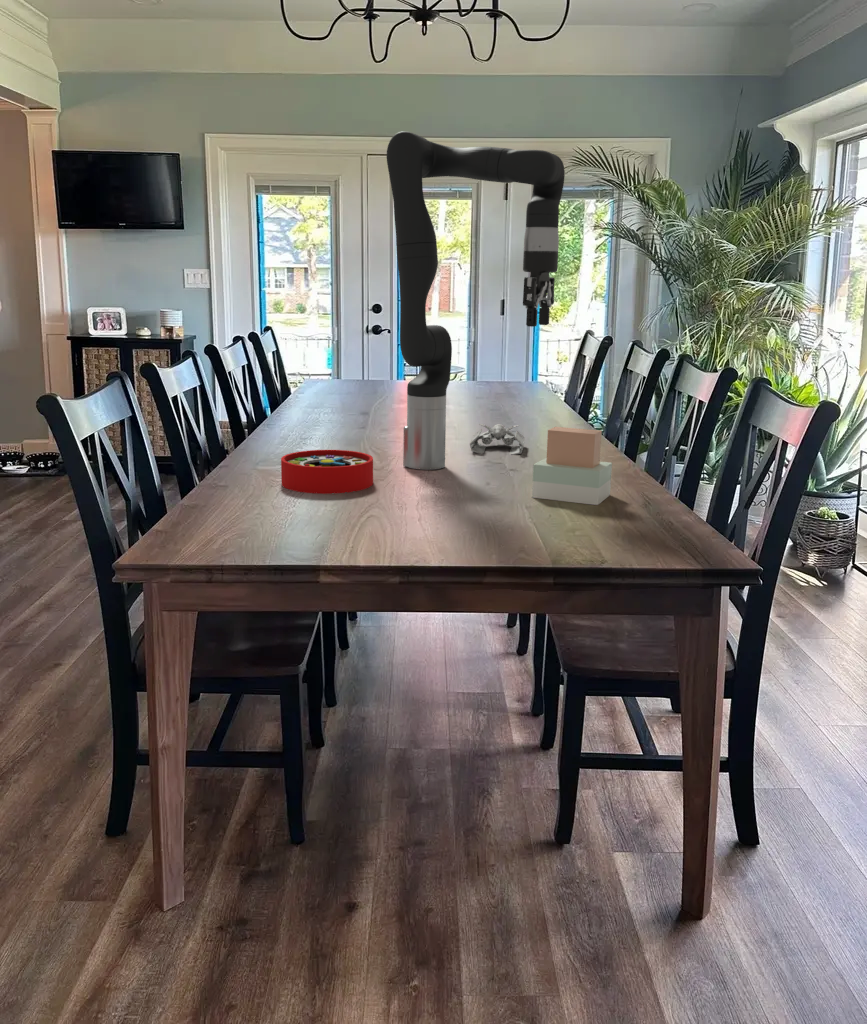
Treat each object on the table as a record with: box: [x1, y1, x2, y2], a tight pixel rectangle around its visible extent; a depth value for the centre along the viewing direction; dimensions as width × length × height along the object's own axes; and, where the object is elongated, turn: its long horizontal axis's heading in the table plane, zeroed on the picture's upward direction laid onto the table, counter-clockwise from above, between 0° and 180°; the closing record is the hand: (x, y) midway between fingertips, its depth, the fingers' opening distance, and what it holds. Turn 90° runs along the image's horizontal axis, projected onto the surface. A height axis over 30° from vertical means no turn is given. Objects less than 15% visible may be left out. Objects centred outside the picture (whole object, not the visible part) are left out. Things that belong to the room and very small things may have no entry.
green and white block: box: [531, 456, 613, 506], centre depth 195 cm, size 14×10×7 cm
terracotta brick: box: [546, 426, 602, 468], centre depth 193 cm, size 5×10×7 cm, turn 65°
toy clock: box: [280, 449, 374, 495], centre depth 204 cm, size 20×6×20 cm
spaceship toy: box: [469, 423, 526, 456], centre depth 247 cm, size 14×20×6 cm
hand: (537, 325), depth 206 cm, fingers open, 8 cm apart
